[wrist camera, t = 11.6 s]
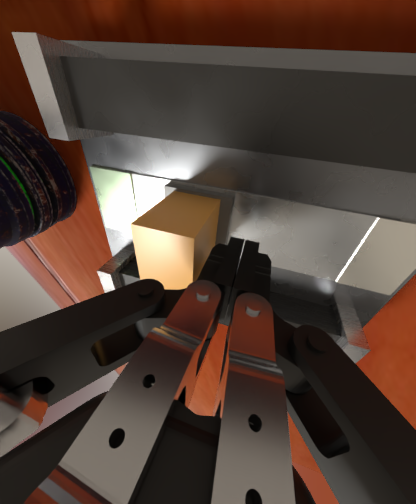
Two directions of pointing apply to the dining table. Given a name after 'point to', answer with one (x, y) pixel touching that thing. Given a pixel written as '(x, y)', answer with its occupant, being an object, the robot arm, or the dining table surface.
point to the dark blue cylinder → (30, 182)
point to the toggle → (180, 234)
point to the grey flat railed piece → (251, 158)
